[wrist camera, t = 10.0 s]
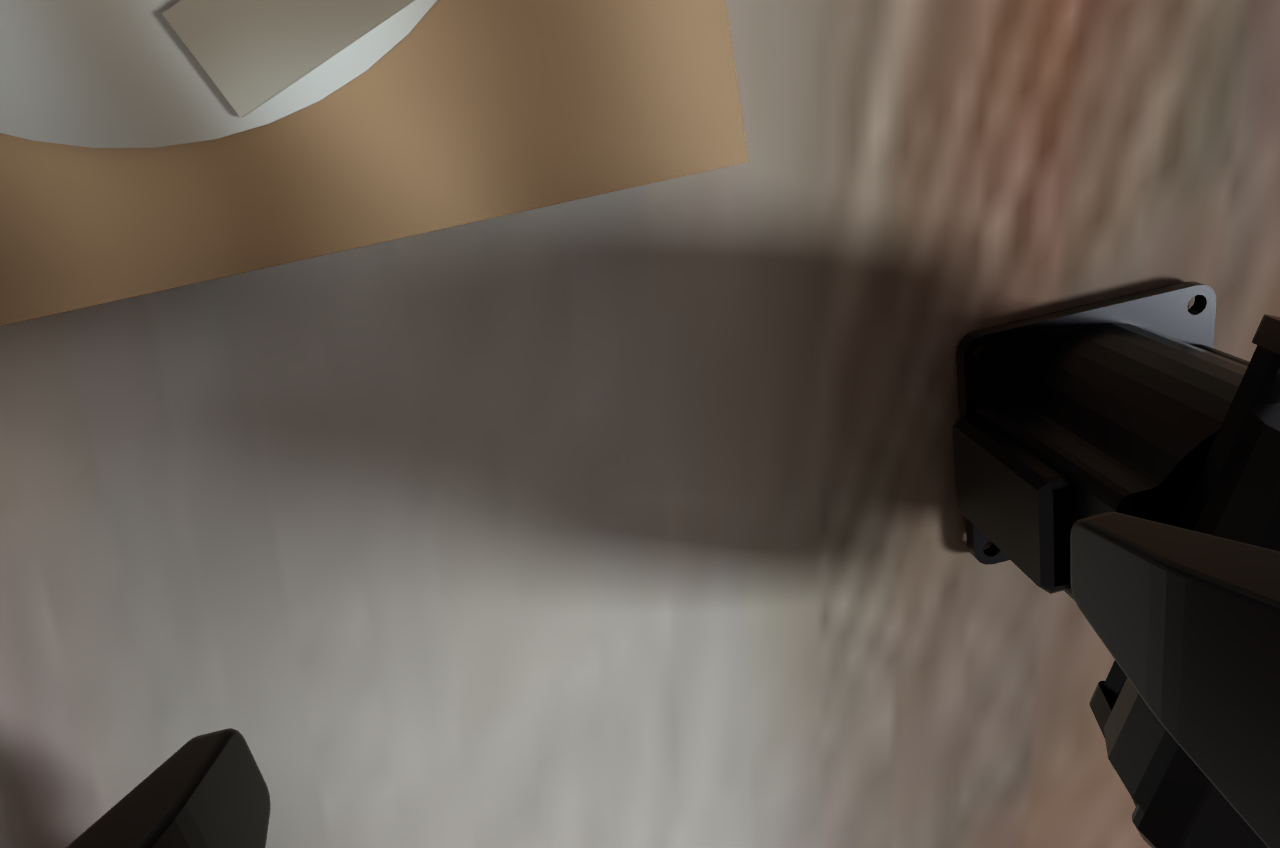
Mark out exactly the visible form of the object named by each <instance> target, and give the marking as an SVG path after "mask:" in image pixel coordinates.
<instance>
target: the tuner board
mask: <svg viewBox="0 0 1280 848" xmlns="http://www.w3.org/2000/svg"><path fill="white" fill-rule="evenodd" d="M745 162H749V161H748V154H747V147H746V140H745V133H744V125H743V118H742V111H741V104H740V97H739V90H738V83H737V76H736V69H735V62H734V55H733V48H732V41H731V34H730V27H729V20H728V13H727V6H726V0H0V326H3V325H8V324H12V323H17V322H21V321H26V320H30V319H35V318H39V317H44V316H49V315H53V314H58V313H62V312H67V311H71V310H76V309H80V308H85V307H90V306H94V305H99V304H103V303H108V302H112V301H117V300H121V299H126V298H130V297H135V296H140V295H144V294H149V293H153V292H158V291H162V290H167V289H171V288H176V287H181V286H185V285H190V284H194V283H199V282H203V281H208V280H212V279H217V278H222V277H226V276H231V275H235V274H240V273H244V272H249V271H253V270H258V269H262V268H267V267H272V266H276V265H281V264H285V263H290V262H294V261H299V260H303V259H308V258H313V257H317V256H322V255H326V254H331V253H335V252H340V251H344V250H349V249H354V248H358V247H363V246H367V245H372V244H376V243H381V242H385V241H390V240H394V239H399V238H404V237H408V236H413V235H417V234H422V233H426V232H431V231H435V230H440V229H445V228H449V227H454V226H458V225H463V224H467V223H472V222H476V221H481V220H486V219H490V218H495V217H499V216H504V215H508V214H513V213H517V212H522V211H527V210H531V209H536V208H540V207H545V206H549V205H554V204H558V203H563V202H567V201H572V200H577V199H581V198H586V197H590V196H595V195H599V194H604V193H608V192H613V191H618V190H622V189H627V188H631V187H636V186H640V185H645V184H649V183H654V182H659V181H663V180H668V179H672V178H677V177H681V176H686V175H690V174H695V173H699V172H704V171H709V170H713V169H718V168H722V167H727V166H731V165H736V164H740V163H745Z"/></svg>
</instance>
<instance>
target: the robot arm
mask: <svg viewBox="0 0 1280 848" xmlns="http://www.w3.org/2000/svg"><path fill="white" fill-rule="evenodd" d="M1194 296H1195V302H1194V305H1193V306H1192V307H1191V308H1190V309H1187V306H1188V303H1189V301H1190V300H1191V299H1192V297H1194ZM1215 313H1216V295H1215V292H1214V291H1213V289H1212V288H1211V287H1209V286H1207V285H1204V284H1200V283H1197V282H1184V283H1179V284H1175V285H1171V286H1166V287H1162V288H1158V289H1153V290H1149V291H1145V292H1141V293H1136V294H1132V295H1128V296H1123V297H1119V298H1115V299H1110V300H1106V301H1102V302H1098V303H1093V304H1089V305H1085V306H1080V307H1076V308H1072V309H1067V310H1063V311H1059V312H1054V313H1050V314H1046V315H1042V316H1037V317H1033V318H1029V319H1024V320H1020V321H1016V322H1011V323H1007V324H1003V325H999V326H994V327H990V328H986V329H981V330H977V331H973V332H971V333H969V334H967V335H966V336H965V337H964V338H963V339H961V341H960V343H959V345H958V346H957V351H956V363H957V380H958V397H959V414H960V416H959V417H958V418H957V420H956V422H955V424H954V426H953V439H954V455H955V471H956V487H957V503H958V509H959V511H960V512H961V513H962V514H963V515H964V516H965V517H966V532H967V546H968V549H969V551H970V552H971V554H972V555H973V556H974V557H975V558H976V559H977V560H978V561H979V562H980V563H983V564H995V563H999V562H1003V561H1007V560H1011V561H1012V562H1013V563H1014V564H1015V565H1017V566H1018V567H1019V568H1020V569H1021V570H1022V571H1023V572H1024V573H1025V574H1026V575H1027V576H1028V577H1029V578H1030V579H1031V580H1032V581H1033V582H1034V583H1035V584H1036V585H1037V586H1039V587H1040V588H1042V589H1044V590H1045V591H1047V592H1049V593H1050V594H1052V593H1056V592H1060V591H1065V592H1066V593H1067V594H1068V595H1069V596H1070V597H1072V598H1073V599H1074V600H1075V601H1076V604H1077V606H1078V607H1079V609H1080V610H1081V612H1082V613H1083V615H1084V616H1085V617H1086V619H1087V620H1088V622H1089V623H1090V625H1091V626H1092V627H1093V629H1094V630H1095V632H1096V633H1097V635H1098V636H1099V637H1100V639H1101V640H1102V642H1103V643H1104V645H1105V646H1106V647H1107V649H1108V650H1109V652H1110V653H1111V654H1112V656H1113V657H1114V659H1115V661H1114V663H1113V666H1112V668H1111V670H1110V672H1109V674H1108V677H1107V679H1106V681H1100V682H1099V683H1098V685H1097V687H1096V689H1095V692H1094V694H1093V696H1092V698H1091V701H1090V707H1091V709H1092V711H1093V713H1094V716H1095V718H1096V720H1097V722H1098V724H1099V727H1100V729H1101V731H1102V733H1103V735H1104V738H1105V740H1106V747H1107V753H1108V759H1109V760H1110V762H1111V764H1112V765H1113V767H1114V769H1115V770H1116V772H1117V774H1118V775H1119V777H1120V778H1121V780H1122V782H1123V783H1124V785H1125V787H1126V788H1127V790H1128V792H1129V793H1130V795H1131V797H1132V799H1133V801H1134V803H1135V805H1136V808H1135V810H1134V812H1133V814H1132V821H1133V823H1134V824H1135V826H1136V828H1137V830H1138V831H1139V833H1140V835H1141V836H1142V838H1143V839H1144V840H1145V841H1146V842H1147V843H1148V844H1149V845H1150V846H1151V847H1152V848H1280V317H1276V316H1271V315H1264V316H1263V318H1262V321H1261V323H1260V325H1259V327H1258V329H1257V332H1256V334H1255V336H1254V338H1253V341H1252V342H1253V343H1254V344H1257V348H1256V350H1255V352H1254V354H1253V356H1252V359H1251V361H1250V362H1249V361H1246V360H1243V359H1241V358H1238V357H1235V356H1232V355H1230V354H1227V353H1224V352H1222V351H1219V350H1216V349H1214V348H1213V347H1214V330H1215ZM982 345H985V352H984V354H983V355H982V357H981V358H979V359H977V360H974V358H973V356H974V352H975V350H976V349H977V348H978V347H980V346H982ZM989 541H991V542H992V543H993V544H992V545H991V546H990V547H989V548H987V549H984V546H985V544H986V543H987V542H989ZM269 816H270V796H269V791H268V788H267V785H266V783H265V781H264V778H263V776H262V774H261V772H260V770H259V768H258V766H257V764H256V762H255V760H254V757H253V755H252V753H251V751H250V749H249V747H248V745H247V743H246V741H245V739H244V737H243V736H242V734H241V733H240V732H239V731H237V730H235V729H232V728H229V729H225V730H220V731H216V732H212V733H208V734H204V735H200V736H197V737H195V738H192V739H191V740H190V741H188V742H187V743H186V744H185V745H184V746H183V747H181V748H180V749H179V750H178V751H177V752H176V753H175V754H173V755H172V756H171V757H170V758H169V759H168V760H167V761H165V762H164V763H163V764H162V765H161V766H160V767H158V768H157V769H156V770H155V771H154V772H153V773H152V774H150V775H149V776H148V777H147V778H146V779H145V780H144V781H142V782H141V783H140V784H139V785H138V786H137V787H135V788H134V789H133V790H132V791H131V792H130V793H129V794H127V795H126V796H125V797H124V798H123V799H122V800H120V801H119V802H118V803H117V804H116V805H115V806H114V807H112V808H111V809H110V810H109V811H108V812H107V813H106V814H104V815H103V816H102V817H101V818H100V819H99V820H97V821H96V822H95V823H94V824H93V825H92V826H91V827H89V828H88V829H87V830H86V831H85V832H84V833H83V834H81V835H80V836H79V837H78V838H77V839H76V840H74V841H73V842H72V843H71V844H70V845H69V846H68V847H66V848H265V846H266V839H267V831H268V824H269Z"/></svg>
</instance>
